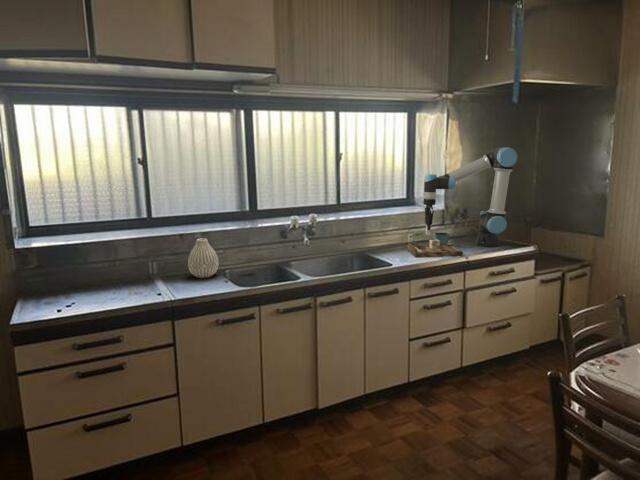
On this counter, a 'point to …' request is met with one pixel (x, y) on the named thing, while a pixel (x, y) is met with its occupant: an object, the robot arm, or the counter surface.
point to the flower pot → (442, 238)
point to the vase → (203, 259)
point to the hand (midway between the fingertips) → (428, 234)
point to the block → (435, 244)
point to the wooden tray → (433, 251)
